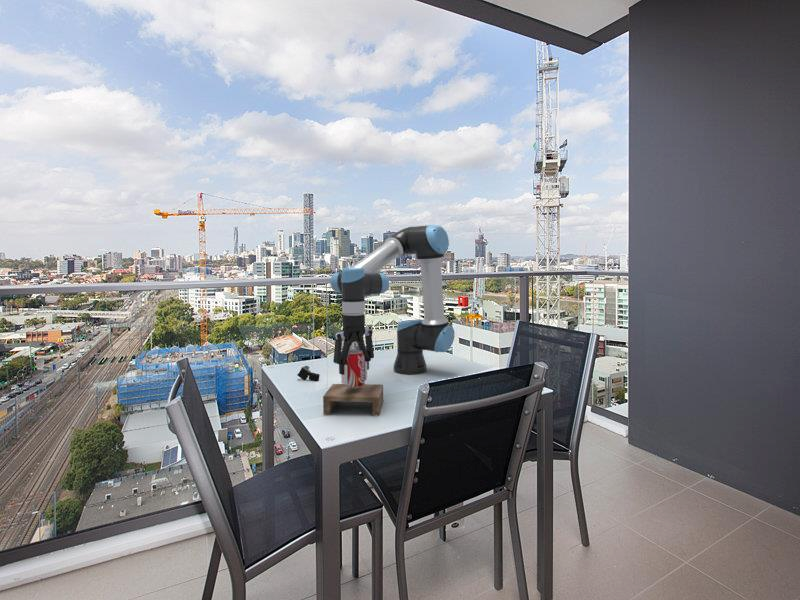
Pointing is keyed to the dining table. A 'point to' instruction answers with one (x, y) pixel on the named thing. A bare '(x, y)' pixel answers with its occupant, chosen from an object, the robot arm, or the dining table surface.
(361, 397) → the walnut shelf
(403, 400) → the dining table surface
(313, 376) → the lighter
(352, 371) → the soda can
